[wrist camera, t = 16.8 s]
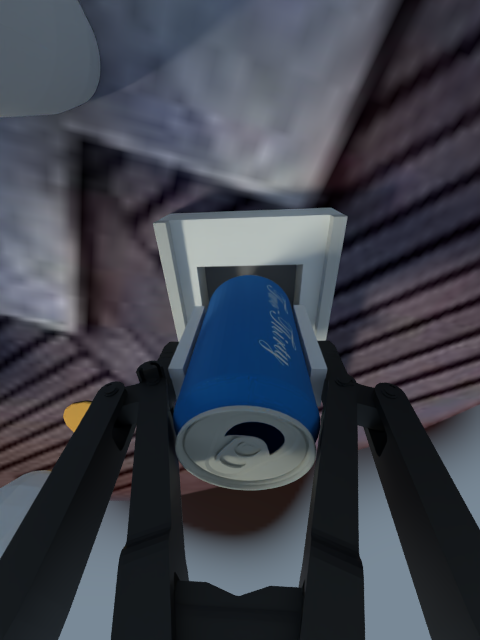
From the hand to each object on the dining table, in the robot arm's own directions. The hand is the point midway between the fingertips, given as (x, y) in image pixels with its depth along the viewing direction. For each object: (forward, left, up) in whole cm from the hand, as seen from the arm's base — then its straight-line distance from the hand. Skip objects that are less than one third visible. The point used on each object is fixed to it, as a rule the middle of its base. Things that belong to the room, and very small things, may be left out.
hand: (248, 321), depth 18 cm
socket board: (0, -3, -4) cm, 5 cm away
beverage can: (0, 0, -2) cm, 2 cm away
